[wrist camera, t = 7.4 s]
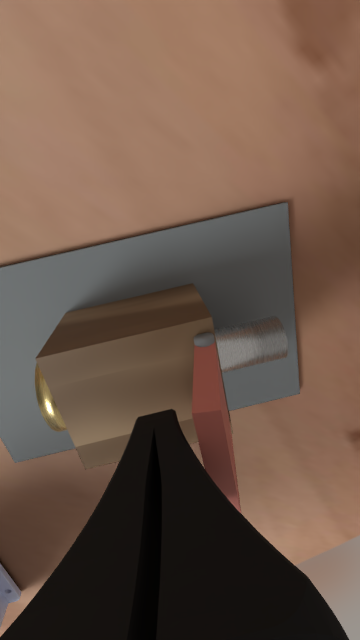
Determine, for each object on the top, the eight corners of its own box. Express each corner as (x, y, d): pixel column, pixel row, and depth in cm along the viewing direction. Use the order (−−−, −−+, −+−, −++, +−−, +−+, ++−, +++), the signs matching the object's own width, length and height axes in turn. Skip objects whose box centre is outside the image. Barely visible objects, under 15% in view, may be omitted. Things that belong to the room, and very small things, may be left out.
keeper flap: (242, 520, 10) (217, 522, 10) (230, 423, 14) (212, 425, 14) (219, 404, 8) (190, 407, 8) (213, 331, 12) (193, 334, 12)
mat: (297, 390, 21) (299, 393, 20) (17, 457, 20) (14, 462, 20) (284, 202, 16) (287, 202, 16) (-80, 285, 15) (-86, 287, 15)
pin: (267, 352, 18) (299, 392, 14) (76, 397, 18) (59, 450, 14) (261, 288, 17) (294, 315, 13) (51, 337, 16) (24, 379, 13)
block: (211, 375, 19) (232, 433, 14) (99, 402, 19) (85, 469, 14) (192, 283, 17) (211, 316, 12) (65, 312, 16) (35, 358, 12)
